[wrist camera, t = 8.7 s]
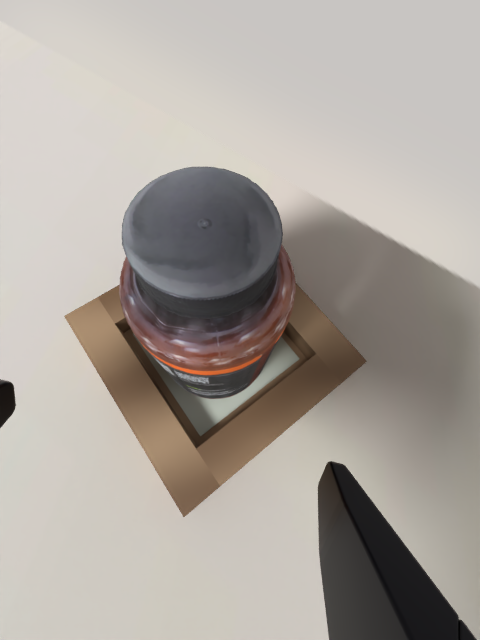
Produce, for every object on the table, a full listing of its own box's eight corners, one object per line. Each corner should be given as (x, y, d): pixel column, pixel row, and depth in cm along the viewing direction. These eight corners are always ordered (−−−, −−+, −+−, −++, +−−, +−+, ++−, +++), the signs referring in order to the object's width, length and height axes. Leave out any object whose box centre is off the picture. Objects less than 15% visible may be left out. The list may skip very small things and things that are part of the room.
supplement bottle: (246, 294, 19) (276, 121, 9) (279, 381, 17) (371, 295, 7) (154, 319, 18) (63, 158, 8) (179, 416, 16) (100, 377, 6)
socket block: (352, 368, 18) (366, 361, 16) (188, 507, 15) (183, 517, 13) (235, 237, 21) (237, 218, 19) (80, 328, 18) (64, 316, 16)
